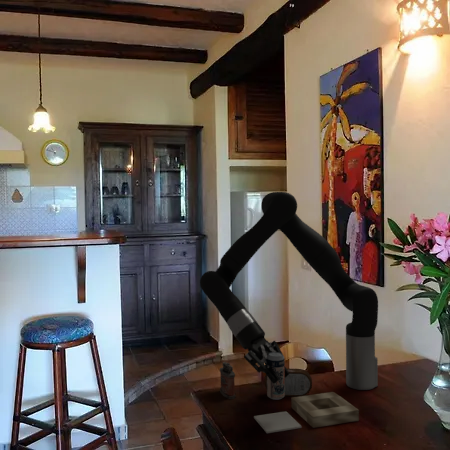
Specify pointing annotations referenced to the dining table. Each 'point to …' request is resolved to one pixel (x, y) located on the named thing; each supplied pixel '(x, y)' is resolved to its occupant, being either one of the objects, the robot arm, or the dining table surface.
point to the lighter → (227, 381)
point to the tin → (296, 383)
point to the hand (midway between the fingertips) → (281, 378)
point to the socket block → (334, 413)
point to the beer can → (278, 365)
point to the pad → (277, 422)
